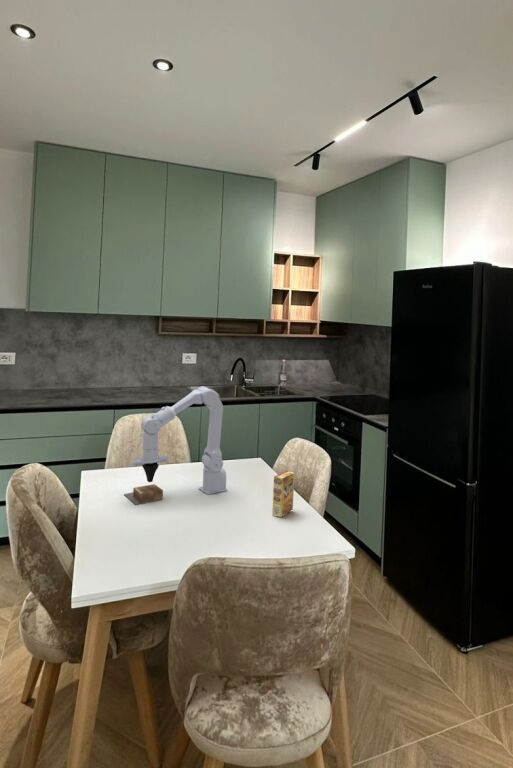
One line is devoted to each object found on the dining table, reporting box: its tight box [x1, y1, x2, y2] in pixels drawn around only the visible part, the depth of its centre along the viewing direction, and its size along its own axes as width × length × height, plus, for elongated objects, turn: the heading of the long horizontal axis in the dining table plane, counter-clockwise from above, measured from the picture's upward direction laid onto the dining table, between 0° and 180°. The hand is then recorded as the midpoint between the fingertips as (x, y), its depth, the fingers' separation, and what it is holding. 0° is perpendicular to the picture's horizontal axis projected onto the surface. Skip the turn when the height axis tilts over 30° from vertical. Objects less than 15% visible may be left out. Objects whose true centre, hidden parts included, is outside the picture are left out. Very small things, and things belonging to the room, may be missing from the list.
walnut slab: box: [132, 483, 164, 503], centre depth 189 cm, size 4×8×9 cm
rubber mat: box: [123, 492, 161, 506], centre depth 190 cm, size 10×12×1 cm
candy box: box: [271, 470, 295, 518], centre depth 180 cm, size 9×4×15 cm, turn 146°
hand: (149, 481), depth 189 cm, fingers closed
